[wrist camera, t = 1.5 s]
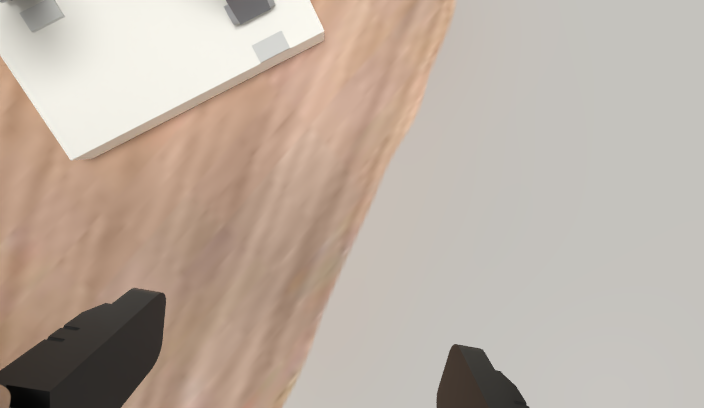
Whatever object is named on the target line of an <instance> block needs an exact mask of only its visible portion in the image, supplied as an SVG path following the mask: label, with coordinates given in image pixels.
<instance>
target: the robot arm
mask: <svg viewBox="0 0 704 408" xmlns="http://www.w3.org/2000/svg"><path fill="white" fill-rule="evenodd" d="M165 306H166V297H165V294H164V293H160V292H155V291H149V290H143V289H138V288H133V289H131V290H129V291H128V292H127V293H125V294H124V295H123V296H121V297H120V298H119V299H117V300H116V301H115V302H114V303H112V304H108V303H105V304H102V305H100V306H97V307H95V308H92V309H90V310H87V311H85V312H82V313H81V314H79V315H78V316H77V317H75V318H74V319H72V320H71V321H70V322H68V323H67V324H65V325H64V327H63V328H60V329H58V330H57V331H55V332H54V333H53V334H51V335H50V336H49V337H48V339H47V340H45V339H44V340H43V341H41V342H40V343H39V344H37V345H36V346H34V347H33V348H32V349H30V350H29V351H27V352H26V353H25V354H23V355H22V356H20V357H19V358H18V359H16V360H15V361H13V362H12V363H11V364H9V365H8V366H6V367H5V368H3V369H2V370H1V371H0V408H121V407H122V405H123V404H124V403H125V402H126V400H127V399H128V398H129V397H130V395H131V394H132V393H133V392H134V390H135V389H136V388H137V387H138V385H139V384H140V383H141V382H142V380H143V379H144V378H145V377H146V375H147V374H148V373H149V372H150V370H151V369H152V368H153V366H154V365H155V363H156V361H157V359H158V356H159V353H160V350H161V346H162V339H163V328H164V317H165ZM437 408H529V407H528V406H526V402H525V400H524V398H523V397H522V395H521V394H520V392H519V390H518V389H517V387H516V386H515V385H514V384H513V383H512V382H511V381H510V380H509V379H508V378H507V377H505V376H504V375H503V374H502V373H501V372H500V371H496V370H495V369H494V368H493V366H492V364H491V363H490V361H489V359H488V357H487V356H486V354H485V352H484V351H483V350H482V349H479V348H474V347H468V346H463V345H457V344H455V345H453V346H452V347H451V350H450V352H449V355H448V359H447V362H446V365H445V369H444V372H443V375H442V378H441V381H440V385H439V388H438V392H437Z"/></svg>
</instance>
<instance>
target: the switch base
mask: <svg viewBox="0 0 704 408" xmlns="http://www.w3.org/2000/svg"><path fill="white" fill-rule="evenodd" d="M274 3H275V5H274V6H272V7H270V8H271V9H270V10H268V11H266V12H264V13H262V14H260V15H258V16H256V17H254V18H252V19H250V20H248V21H246V22H245V23H243V24H241V25H240V23H239V24H237V25H235V26H234V24H233V23H232V21H231V19H230V18H229V16H228V14H227V12H226V10H225V8H224V6H225V5H227V4H228V3H227V2H226V0H12V1H10V0H8V1H6V2H4V3H1V2H0V56H1V57H2V59H3V60H4V62H5V63H6V64H7V66H8V67H9V69H10V70H11V72H12V73H13V75H14V76H15V78H16V79H17V81H18V82H19V84H20V85H21V87H22V88H23V90H24V91H25V93H26V94H27V96H28V97H29V99H30V100H31V102H32V103H33V105H34V106H35V108H36V109H37V111H38V112H39V114H40V115H41V117H42V118H43V120H44V121H45V123H46V124H47V126H48V127H49V129H50V130H51V132H52V133H53V135H54V136H55V138H56V139H57V141H58V142H59V143H60V145H61V146H62V148H63V149H64V151H65V152H66V154H67V155H68V157H69V158H70V160H84V159H93V158H95V157H97V156H99V155H101V154H103V153H105V152H107V151H109V150H111V149H112V148H114V147H116V146H118V145H120V144H122V143H124V142H126V141H128V140H130V139H132V138H134V137H136V136H138V135H140V134H142V133H144V132H146V131H148V130H150V129H152V128H154V127H156V126H158V125H160V124H161V123H163V122H165V121H167V120H169V119H171V118H173V117H175V116H177V115H179V114H181V113H183V112H185V111H187V110H189V109H191V108H193V107H195V106H197V105H199V104H201V103H203V102H205V101H207V100H208V99H210V98H212V97H214V96H216V95H218V94H220V93H222V92H224V91H226V90H228V89H230V88H232V87H234V86H236V85H238V84H240V83H242V82H244V81H246V80H248V79H250V78H252V77H254V76H256V75H257V74H259V73H261V72H263V71H265V70H267V69H269V68H271V67H273V66H275V65H277V64H279V63H281V62H283V61H285V60H287V59H289V58H291V57H293V56H295V55H297V54H299V53H301V52H303V51H305V50H306V49H308V48H310V47H312V46H314V45H316V44H318V43H320V42H322V41H324V29H323V27H322V25H321V23H320V21H319V19H318V17H317V14H316V12H315V10H314V8H313V6H312V4H311V2H310V0H274Z"/></svg>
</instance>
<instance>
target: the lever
mask: <svg viewBox="0 0 704 408" xmlns="http://www.w3.org/2000/svg"><path fill="white" fill-rule="evenodd" d="M226 2H227V3H228V4H227V5H225V6H224V8H225V10H226V12H227V14H228V16H229V18H230V19H231V21H232V23H233V24H234V26H235V25H237V24H239V23H240V25H241V24H243V23H245V22H246V21H248V20H250V19H252V18H254V17H256V16H258V15H260V14H262V13H264V12H266V11H268V10H270V9H271V8H270V7H272V6H274V5H275V3H274V0H226Z"/></svg>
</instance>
